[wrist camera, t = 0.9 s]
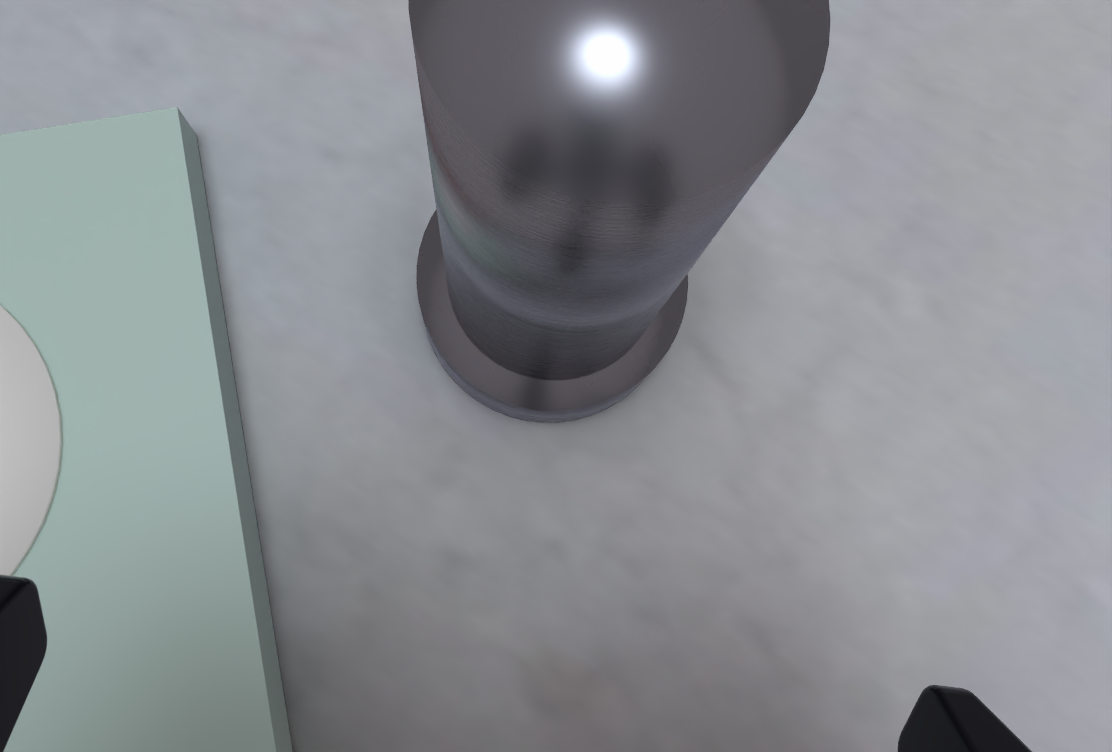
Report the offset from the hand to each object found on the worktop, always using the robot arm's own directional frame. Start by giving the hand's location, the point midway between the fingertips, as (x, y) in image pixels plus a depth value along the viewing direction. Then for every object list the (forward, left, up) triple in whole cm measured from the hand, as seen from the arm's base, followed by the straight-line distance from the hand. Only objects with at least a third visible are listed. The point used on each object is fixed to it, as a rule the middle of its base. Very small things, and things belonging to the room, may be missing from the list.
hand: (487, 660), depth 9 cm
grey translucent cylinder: (+7, -3, -13) cm, 15 cm away
